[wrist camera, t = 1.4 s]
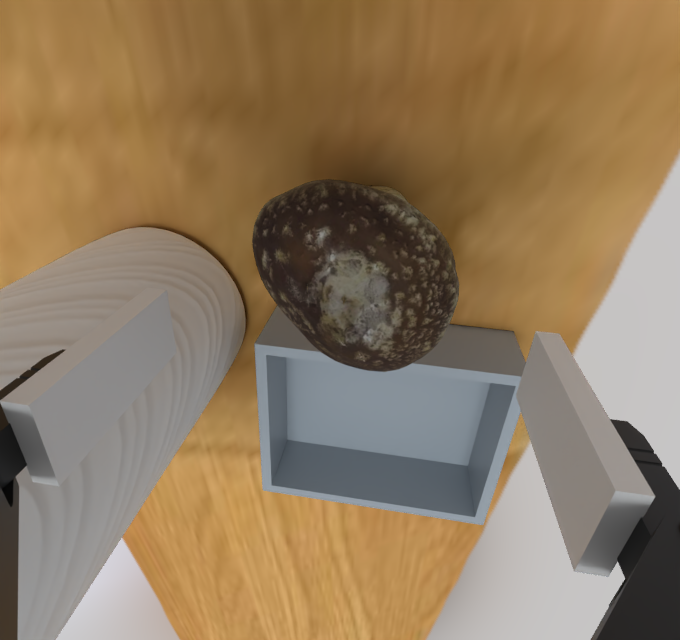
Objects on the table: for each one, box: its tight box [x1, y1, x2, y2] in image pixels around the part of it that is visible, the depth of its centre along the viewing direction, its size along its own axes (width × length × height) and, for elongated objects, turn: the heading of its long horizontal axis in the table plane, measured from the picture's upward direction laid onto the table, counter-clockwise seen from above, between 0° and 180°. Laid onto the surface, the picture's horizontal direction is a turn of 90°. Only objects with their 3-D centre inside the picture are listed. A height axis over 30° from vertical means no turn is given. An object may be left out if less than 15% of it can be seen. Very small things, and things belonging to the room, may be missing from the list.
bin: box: [255, 305, 526, 525], centre depth 36 cm, size 15×19×6 cm
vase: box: [0, 227, 246, 640], centre depth 23 cm, size 14×14×32 cm
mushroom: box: [252, 179, 459, 372], centre depth 24 cm, size 9×9×15 cm
